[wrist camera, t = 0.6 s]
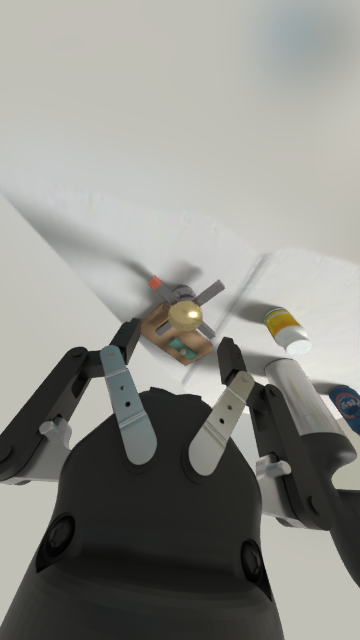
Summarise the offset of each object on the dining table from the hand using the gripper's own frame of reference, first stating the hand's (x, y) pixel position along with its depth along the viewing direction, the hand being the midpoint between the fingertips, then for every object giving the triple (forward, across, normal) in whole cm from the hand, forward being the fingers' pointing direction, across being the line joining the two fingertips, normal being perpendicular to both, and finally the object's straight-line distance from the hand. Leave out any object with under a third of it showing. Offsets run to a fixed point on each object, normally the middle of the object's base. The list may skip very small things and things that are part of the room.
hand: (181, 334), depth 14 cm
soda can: (+19, -57, +28) cm, 66 cm away
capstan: (+19, -1, +6) cm, 20 cm away
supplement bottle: (+19, -22, +6) cm, 30 cm away
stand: (+19, -1, +18) cm, 26 cm away
